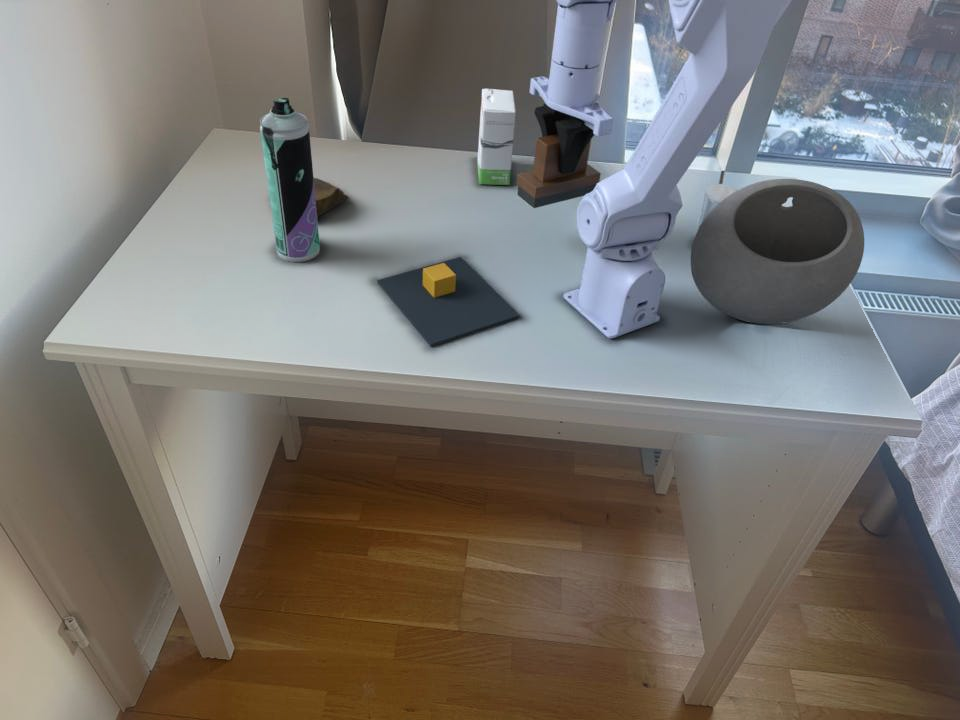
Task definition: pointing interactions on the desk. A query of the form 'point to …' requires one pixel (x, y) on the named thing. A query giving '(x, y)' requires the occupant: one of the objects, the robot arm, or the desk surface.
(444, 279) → the mustard wooden cube
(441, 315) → the mat
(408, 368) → the desk surface
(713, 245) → the planter
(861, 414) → the desk surface
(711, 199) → the milkshake
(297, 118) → the spray can
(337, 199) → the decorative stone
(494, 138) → the ink box
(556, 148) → the brush
